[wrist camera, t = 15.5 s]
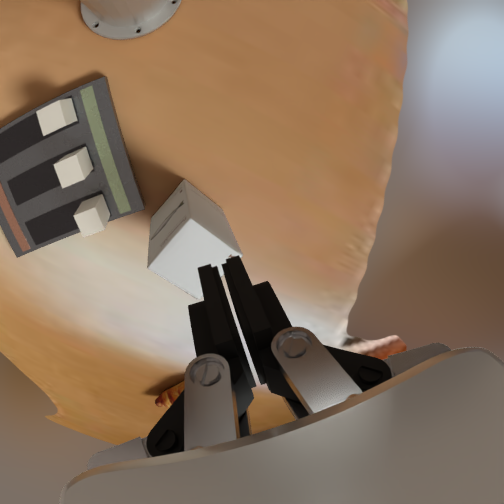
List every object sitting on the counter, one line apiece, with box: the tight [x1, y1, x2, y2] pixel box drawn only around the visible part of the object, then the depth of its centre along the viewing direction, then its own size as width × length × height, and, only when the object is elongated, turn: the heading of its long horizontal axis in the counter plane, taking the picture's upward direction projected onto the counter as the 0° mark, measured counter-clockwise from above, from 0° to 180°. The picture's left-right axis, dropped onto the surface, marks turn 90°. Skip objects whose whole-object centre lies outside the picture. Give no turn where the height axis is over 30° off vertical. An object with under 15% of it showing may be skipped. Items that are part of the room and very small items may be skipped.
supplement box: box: [147, 179, 243, 299], centre depth 35 cm, size 7×7×13 cm
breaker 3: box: [74, 194, 110, 238], centre depth 33 cm, size 3×3×4 cm
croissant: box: [155, 380, 185, 408], centre depth 59 cm, size 21×10×8 cm, turn 96°
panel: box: [0, 77, 145, 258], centre depth 31 cm, size 18×22×2 cm
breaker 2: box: [54, 147, 93, 189], centre depth 29 cm, size 3×3×4 cm
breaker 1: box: [36, 98, 78, 136], centre depth 26 cm, size 3×3×4 cm
